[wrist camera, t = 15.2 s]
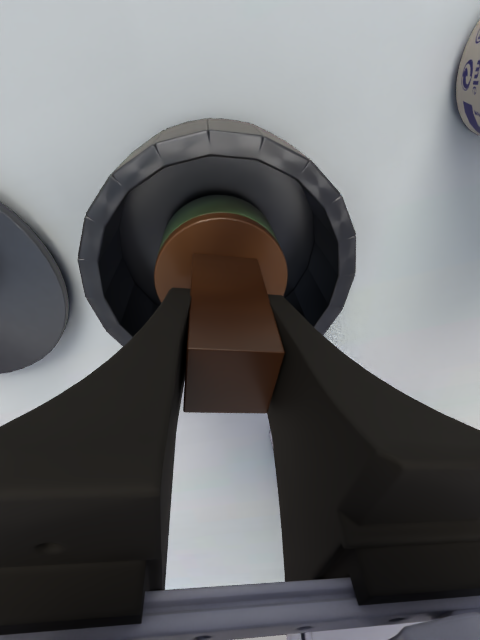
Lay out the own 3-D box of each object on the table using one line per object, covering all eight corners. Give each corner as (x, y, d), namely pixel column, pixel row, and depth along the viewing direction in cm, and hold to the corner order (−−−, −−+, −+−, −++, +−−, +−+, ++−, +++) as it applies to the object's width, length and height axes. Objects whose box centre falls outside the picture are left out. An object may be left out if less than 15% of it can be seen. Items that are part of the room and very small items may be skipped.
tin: (329, 305, 19) (355, 353, 15) (155, 344, 19) (145, 397, 16) (318, 87, 12) (358, 90, 9) (60, 154, 13) (12, 179, 10)
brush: (286, 201, 14) (358, 308, 7) (264, 303, 17) (301, 441, 10) (161, 187, 13) (119, 293, 6) (161, 296, 16) (133, 442, 10)
